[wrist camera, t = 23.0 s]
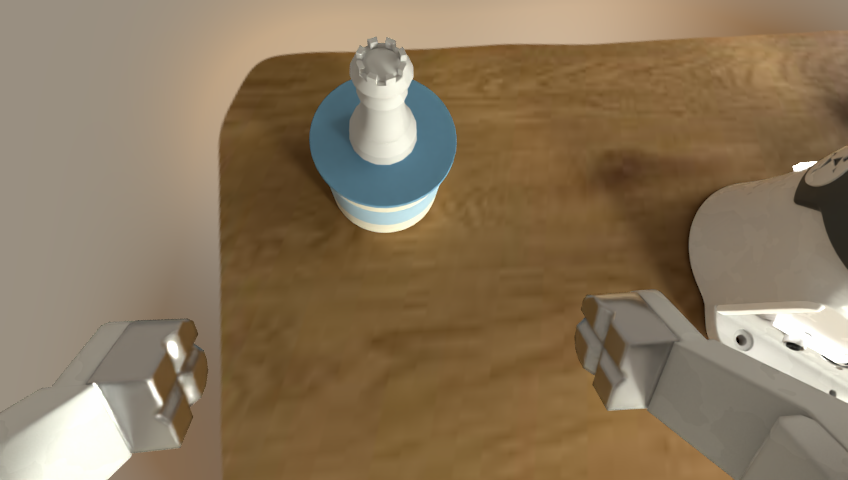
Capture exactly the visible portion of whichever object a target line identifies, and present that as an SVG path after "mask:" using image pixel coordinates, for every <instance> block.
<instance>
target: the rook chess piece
mask: <svg viewBox="0 0 848 480" xmlns="http://www.w3.org/2000/svg"><path fill="white" fill-rule="evenodd" d="M367 42H368V46H366V47H362V46H359V48H358V50H357V52H356V54H355V56H354V58H353V59H352V61H351V63H350V77H351V79H352V82H353V84H354V86H355V87H356V92H357V95H358V97H359V99H360V103H359V105H358V106H357V107H356V108H355V110H354V112H353V114H352V116H351V118H350V123H349V139H350V142H351V144H352V147H353V149H354V151H355V152H356V153H357V154H358V155H359V156H360V157H362V158H363V159H364V160H366V161H369V162H371V163H374V164H377V165H390V164H393V163H396V162H399V161H401V160H403V159H404V158H405V157H406V156H407V155H409V154H410V153H411V152H412V150H413V148H414V145H415V143H416V141H417V129H416V120H415V118H414V116H413V114H412V112H411V109H410V108H409V107H408V106H407V105H406V104H405V103H404V100H405V98H406V96H407V94H408V87H409V85H410V83H411V81H412V79H413V65H412V63H411V61H410V59H409V57H408V56H407V55H406V53H405V50H404V48H403V47H402V48H400V49H399V48H397V47H396V41H395V40H393V39H390V38H388V37H387V38H386V41H385V43H378V41H377V37H374V38H371V39H368V40H367Z"/></svg>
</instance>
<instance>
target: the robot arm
mask: <svg viewBox="0 0 848 480" xmlns="http://www.w3.org/2000/svg"><path fill="white" fill-rule="evenodd" d="M793 169H794V170H797V171H793V172H790V173H787V174H784V175H780V176H776V177H772V178H768V179H763V180H758V181H752V182H744V183H737V184H732V185H729V186H726V187H724V188H722V189H720V190H718V191H716V192H715V193H714V194H712V195H711V196H710V197H709V198H707V199H706V201H705V202H704V203H703V204H702V205H701V207H700V208H699V210H698V211H697V213H696V215H695V217H694V220H693V222H692V225H691V229H690V235H689V257H690V263H691V268H692V271H693V275H694V277H695V280H696V282H697V285H698V287H699V290H700V292H701V294H702V297H703V300H704V304H705V324H706V332H707V335H708V338H709V340H706V339H705V337H704V336H703V335H702V334H701V333H700V332H699V331H698V330H697V329H696V328H695V327H694V326H693V325H692V324H691V323H690V322H689V321H688V320H687V319H686V318H685V317H684V316H683V315H682V313H681V312H680V311H679V310H678V309H677V308H676V307H675V306H674V305H673V304H672V303H671V302H670V301H669V300H668V299H667V298H666V297H665V296H664V295H663V294H662V293H661V292H660V291H657V290H655V289H650V290H639V291H631V292H620V293H605V294H590V295H586V297H585V298H584V300H583V303H582V307H581V311H582V312H583V314H584V316H585V318H584V319H583V320H582V321H581V322H580V323H579V324H578V325H577V327H576V332H575V349H576V353H577V356H578V359H579V361H580V363H581V364H582V366H583V368H584V369H586V370H587V371H589V372H590V373H592V374H593V375H595V378H594V381H593V386H594V388H595V390H596V391H597V393H598V395H599V397H600V399H601V400H602V402H603V404H604V406H605V407H606V409H607V411H608V410H626V409H643V408H648V409H647V411H649V412H650V413H651V414H652V415H654V416H655V417H656V418H658V419H659V420H660V421H661V422H663V423H664V424H665V425H666V426H668V427H669V428H670V429H672V430H673V431H674V432H675V433H677V434H678V435H679V436H680V437H682V438H683V439H684V440H685V441H687V442H688V443H689V444H691V445H692V446H693V447H694V448H696V449H697V450H698V451H699V452H701V453H702V454H703V455H704V456H706V457H707V458H708V459H710V460H711V461H712V462H713V463H715V464H716V465H717V466H718V467H720V468H721V469H722V470H723V471H725V472H726V473H727V474H729V475H730V476H731V477H732V478H734V479H735V480H848V145H847V146H845V147H843V148H841V149H839V150H837V151H835V152H833V153H831V154H830V155H828V156H826V157H825V158H823V159H821V160H819V161H817V162H804V163H799V164H797V165H795V166H793ZM197 335H198V332H197V329H196V327H195V324H194V322H193V321H192V320H189V319H165V320H141V321H139V320H138V321H124V322H108V323H106V324H104V325H101V326H100V327H99V329H98V330H97V331H96V333H95V334H94V335H93V336H92V337H91V338H90V340H89V341H88V342H87V343H86V345H85V346H84V347H83V348H82V350H81V351H80V352H79V353H78V355H77V356H76V357H75V358H74V360H73V361H72V362H71V363H70V364H69V366H68V367H67V368H66V370H65V371H64V372H63V373H62V374H61V376H60V377H59V378H58V379H57V380H56V382H55V383H54V384H53V385H52V387H48V388H41V389H39V390H37V391H36V392H34V393H32V394H31V395H29V396H27V397H26V398H24V399H22V400H21V401H19V402H17V403H16V404H14V405H12V406H11V407H9V408H7V409H5V410H4V411H2V412H0V480H107V479H108V478H109V477H110V476H111V475H112V474H113V473H115V472H116V471H117V470H118V468H120V467H121V466H122V465H123V464H124V463H125V462H126V461H127V460H128V459H129V458H130V457H131V453H138V452H147V451H155V450H165V449H173V448H180V447H181V445H182V442H183V440H184V437H185V435H186V433H187V430H188V428H189V426H190V423H191V421H192V418H193V415H192V413H191V410H190V406H191V405H193V404H194V403H195V402H196V401H198V400H199V399H200V398H201V396H202V394H203V392H204V389H205V386H206V381H207V374H208V368H207V359H206V356H205V353H204V350H202V349H201V348H200V347H198V346H197V345H195V344H194V342H195V340H196V337H197ZM736 337H738V338H739V344H738V343H737V341H736Z"/></svg>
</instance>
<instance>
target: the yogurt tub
mask: <svg viewBox="0 0 848 480" xmlns="http://www.w3.org/2000/svg"><path fill="white" fill-rule="evenodd" d="M359 103H360V99H359V97H358V95H357V92H356V87H355V86H354V84H353V82H352V80H349V81H347V82H345V83H343V84H342V85H340V86H338V87H337V88H336V89H334V90H333V91H332V92H331V93H330V94H329V95H328V96H327V97H326V98H325V99H324V100H323V101H322V103H321V104H320V106H319V107H318V109H317V111H316V113H315V115H314V117H313V120H312V123H311V128H310V137H309V141H310V150H311V155H312V158H313V161H314V163H315V166H316V168H317V170H318V172H319V173H320V175H321V177H322V178H323V179H324V180H325V182H326V183H327V184H328V185H329V186H330V188H331V191H332V193H333V195H334V198H335V201H336V203H337V205H338V207H339V209H340V210H341V211H342V213H343V214H344V215H345V216H346V217H347V218H348V219H349V220H350V221H352V222H353V223H354V224H356V225H358V226H359V227H361V228H364V229H366V230H370V231H373V232H380V233H389V232H396V231H400V230H403V229H406V228H408V227H410V226H412V225H414V224H415V223H417V222H418V221H420V220H421V219H422V218H423V217H424V216H425V215H426V213H427V212H428V211H429V209H430V207H431V206H432V204H433V201H434V199H435V195H436V193H437V190H438V187H439V185H440V184H441V182H442V181H443V180H444V179H445V177H446V176H447V174H448V172H449V170H450V168H451V166H452V163H453V160H454V157H455V153H456V145H457V142H456V131H455V126H454V123H453V120H452V117H451V115H450V113H449V111H448V109H447V108H446V106H445V105H444V103H443V102H442V101H441V100H440V99H439V97H438V96H437V95H435V94H434V93H433V92H432V91H431V90H430V89H428V88H427V87H425V86H424V85H422V84H420V83H418V82H417V81H414V80H412V81H411V83H410V85H409V87H408V94H407V96H406V98H405V100H404V103H405V104H406V105H407V106H408V107H409V108H410V109H411V112H412V114H413V116H414V118H415V120H416V129H417V141H416V143H415V145H414V148H413V150H412V152H411V153H410V154H409V155H407V156H406V157H405V158H404V159H403V160H401V161H399V162H396V163H393V164H390V165H377V164H374V163H371V162H369V161H366V160H364V159H363V158H362V157H360V156H359V155H358V154H357V153H356V152H355V151H354V149H353V147H352V144H351V142H350V139H349V123H350V118H351V116H352V114H353V112H354V110H355V108H356V107H357V106H358V105H359Z"/></svg>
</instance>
